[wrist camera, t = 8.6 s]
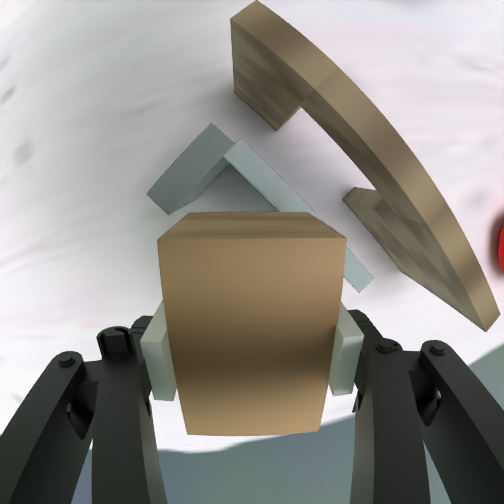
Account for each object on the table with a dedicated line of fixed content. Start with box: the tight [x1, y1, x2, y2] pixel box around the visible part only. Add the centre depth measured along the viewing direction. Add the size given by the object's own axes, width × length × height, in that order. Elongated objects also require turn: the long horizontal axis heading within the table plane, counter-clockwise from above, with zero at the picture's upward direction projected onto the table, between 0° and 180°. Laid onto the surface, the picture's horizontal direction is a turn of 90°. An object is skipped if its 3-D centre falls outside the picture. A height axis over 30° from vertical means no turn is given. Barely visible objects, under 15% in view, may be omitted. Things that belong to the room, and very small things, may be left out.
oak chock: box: [157, 212, 347, 436], centre depth 13 cm, size 9×6×6 cm, turn 0°
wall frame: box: [230, 0, 500, 332], centre depth 22 cm, size 28×2×16 cm, turn 46°
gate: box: [147, 123, 374, 293], centre depth 25 cm, size 15×6×12 cm, turn 46°
